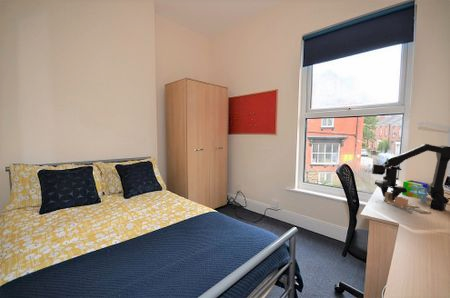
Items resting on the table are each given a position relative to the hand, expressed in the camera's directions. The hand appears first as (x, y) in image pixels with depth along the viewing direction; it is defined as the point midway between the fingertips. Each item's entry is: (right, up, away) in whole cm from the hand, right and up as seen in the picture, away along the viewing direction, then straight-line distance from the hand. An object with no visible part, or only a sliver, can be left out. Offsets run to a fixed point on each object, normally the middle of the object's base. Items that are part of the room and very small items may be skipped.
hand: (388, 198), depth 136 cm
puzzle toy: (+31, -2, +15) cm, 35 cm away
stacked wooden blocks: (0, -3, -5) cm, 6 cm away
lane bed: (+4, -4, -8) cm, 10 cm away
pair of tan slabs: (+7, -3, -12) cm, 15 cm away
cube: (+1, -2, -9) cm, 9 cm away
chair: (+21, -3, +2) cm, 21 cm away
